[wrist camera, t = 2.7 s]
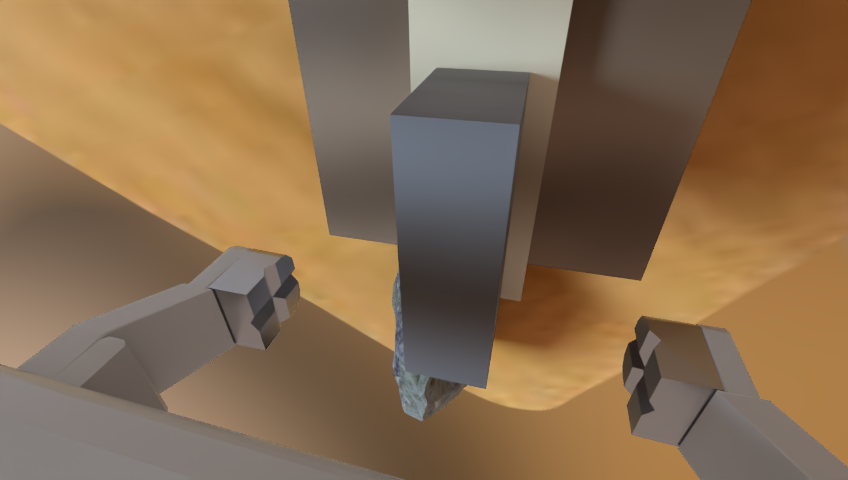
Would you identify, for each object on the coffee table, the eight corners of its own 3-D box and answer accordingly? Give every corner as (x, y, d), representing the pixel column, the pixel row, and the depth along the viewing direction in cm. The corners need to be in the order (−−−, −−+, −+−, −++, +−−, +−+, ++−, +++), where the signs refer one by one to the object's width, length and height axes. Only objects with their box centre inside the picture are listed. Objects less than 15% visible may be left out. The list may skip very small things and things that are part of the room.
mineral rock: (456, 160, 25) (410, 259, 17) (589, 260, 26) (604, 394, 18) (362, 276, 32) (299, 382, 24) (469, 348, 34) (443, 469, 26)
